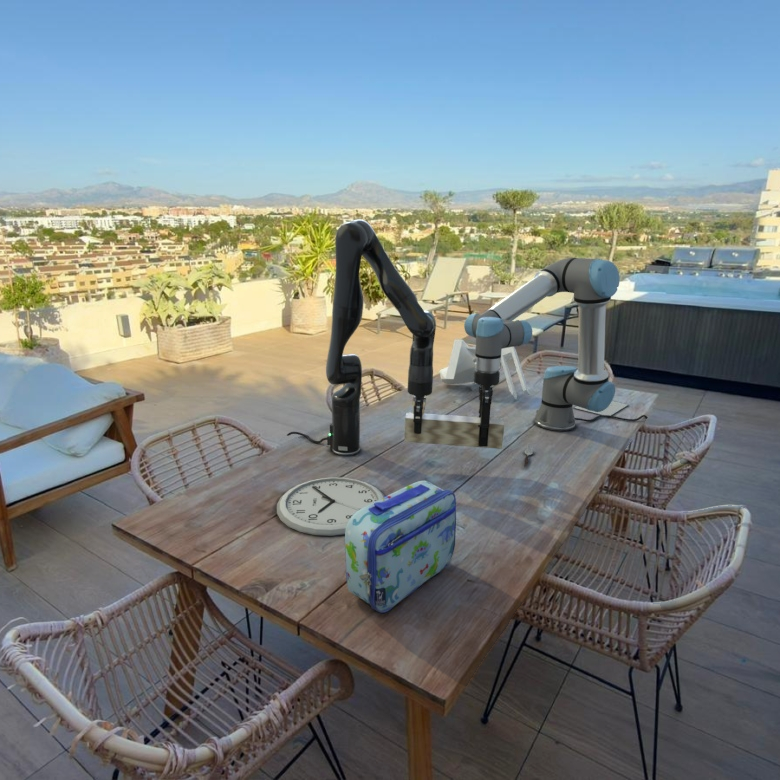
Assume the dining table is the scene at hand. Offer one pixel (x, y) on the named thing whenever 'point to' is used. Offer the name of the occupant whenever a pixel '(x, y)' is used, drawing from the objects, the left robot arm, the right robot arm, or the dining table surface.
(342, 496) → the wall clock
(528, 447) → the fork
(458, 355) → the white plastic object
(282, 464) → the dining table surface
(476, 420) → the plank
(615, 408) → the invitation card
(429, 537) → the lunch box
